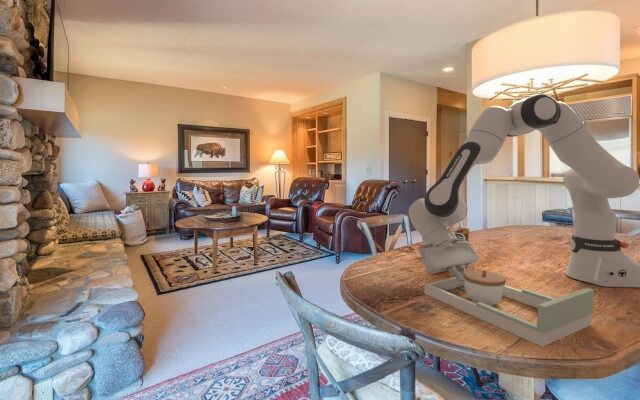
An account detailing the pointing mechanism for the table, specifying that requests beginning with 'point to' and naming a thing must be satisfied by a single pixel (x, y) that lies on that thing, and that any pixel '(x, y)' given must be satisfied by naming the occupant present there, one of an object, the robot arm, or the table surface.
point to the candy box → (462, 232)
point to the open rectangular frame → (553, 310)
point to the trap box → (441, 293)
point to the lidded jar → (484, 286)
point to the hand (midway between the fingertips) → (464, 280)
